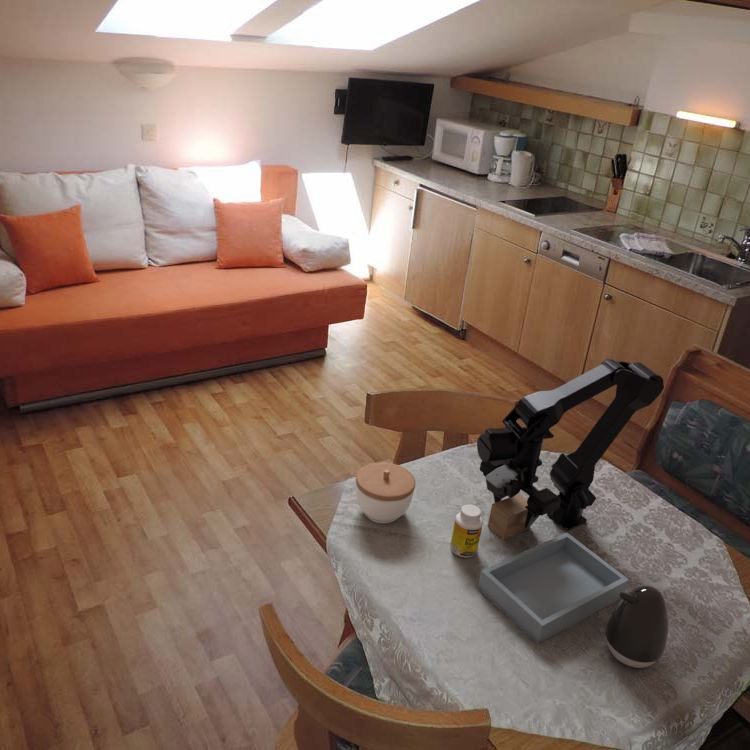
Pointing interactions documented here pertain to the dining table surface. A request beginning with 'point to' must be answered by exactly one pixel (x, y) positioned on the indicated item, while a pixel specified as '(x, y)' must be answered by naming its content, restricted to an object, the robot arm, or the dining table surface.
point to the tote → (552, 586)
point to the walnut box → (508, 516)
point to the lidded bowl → (384, 491)
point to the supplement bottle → (466, 531)
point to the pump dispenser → (639, 627)
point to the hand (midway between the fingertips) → (511, 515)
